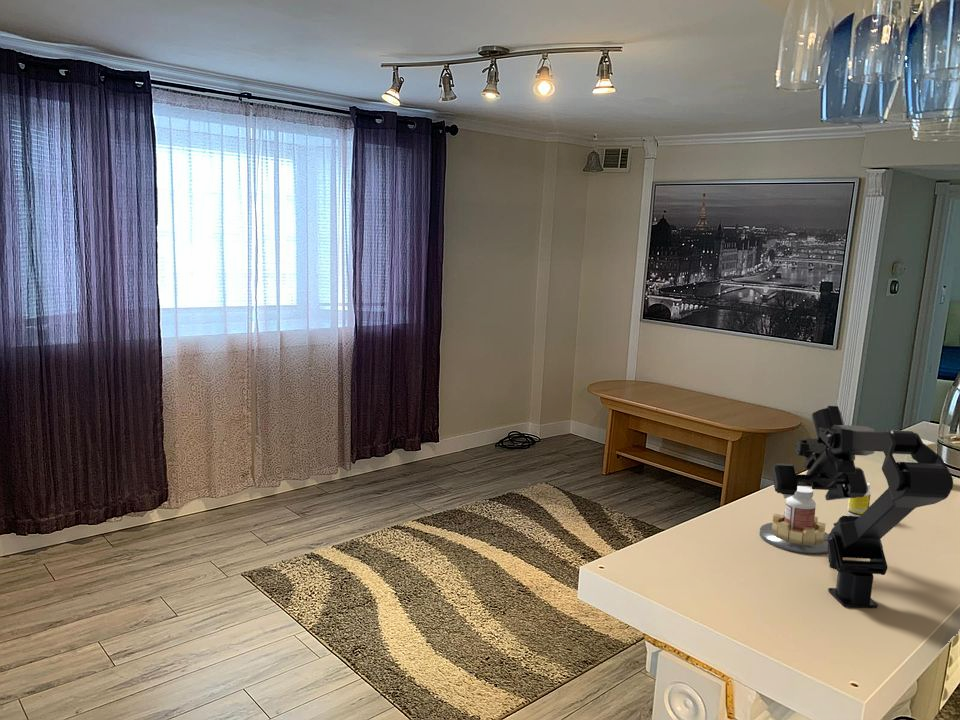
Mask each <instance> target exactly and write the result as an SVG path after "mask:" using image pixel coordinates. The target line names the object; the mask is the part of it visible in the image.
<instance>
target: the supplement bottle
mask: <svg viewBox="0 0 960 720" xmlns="http://www.w3.org/2000/svg"><path fill="white" fill-rule="evenodd" d="M866 482H867V486H868V492H867V493H866V494H865V495H864V496H863V497H856V498H848V501H847V509H846V513H847V514H848V516H859V517H860V516H861V515H862V514H863V513H864V512H865V511H866V510H867V509H868V508H869V507H870V502H871V491H870V489H871V483H869V482H868V481H866Z"/></svg>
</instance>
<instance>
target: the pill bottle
mask: <svg viewBox="0 0 960 720" xmlns="http://www.w3.org/2000/svg"><path fill="white" fill-rule="evenodd" d="M813 496H814V489H812V487H811V488H810V487H808V486H797V491H796V492H795V495H793V496H791V497H788V498H785V499H786V500H785V510H784V512H785V520H784V522H786V523H789V524H791V529H794V530H799V531H803V527H813V528H814V518H815V516H816V507H817V505H816V501H815V500H814V499H813Z"/></svg>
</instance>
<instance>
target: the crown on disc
mask: <svg viewBox="0 0 960 720" xmlns="http://www.w3.org/2000/svg"><path fill="white" fill-rule="evenodd" d="M818 519H819V518H818V516H816V515H815V518H814V528H813V527H803V531H799V530H794V529H791V524H789V523H786V522H784V520H785V511H784V514H779V513H773V515H772V522H769V523H765V524H762V525H761V526H760V528H759V536H760V538H761V539H762V540H763V541H764V542H765V543H767V544H769V545H771V546H773V547H775V548H778V549H781V550H784V551H787V552H791V553H795V554H801V555H802V554H803V555H812V556H815V555H828V542H827V540H828V535H829V533H827V532H826V522H825V523H824V522H819V521H818Z"/></svg>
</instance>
